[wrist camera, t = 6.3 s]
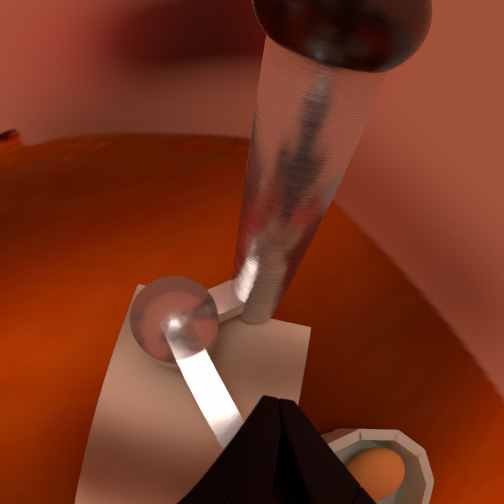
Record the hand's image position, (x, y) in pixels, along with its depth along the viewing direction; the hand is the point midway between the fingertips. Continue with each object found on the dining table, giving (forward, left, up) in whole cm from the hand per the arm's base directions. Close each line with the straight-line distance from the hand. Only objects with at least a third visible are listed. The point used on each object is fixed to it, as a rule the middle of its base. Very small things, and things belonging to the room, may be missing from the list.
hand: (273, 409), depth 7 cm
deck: (-2, +4, -10) cm, 11 cm away
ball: (-7, -6, -8) cm, 12 cm away
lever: (-2, -1, -6) cm, 6 cm away
